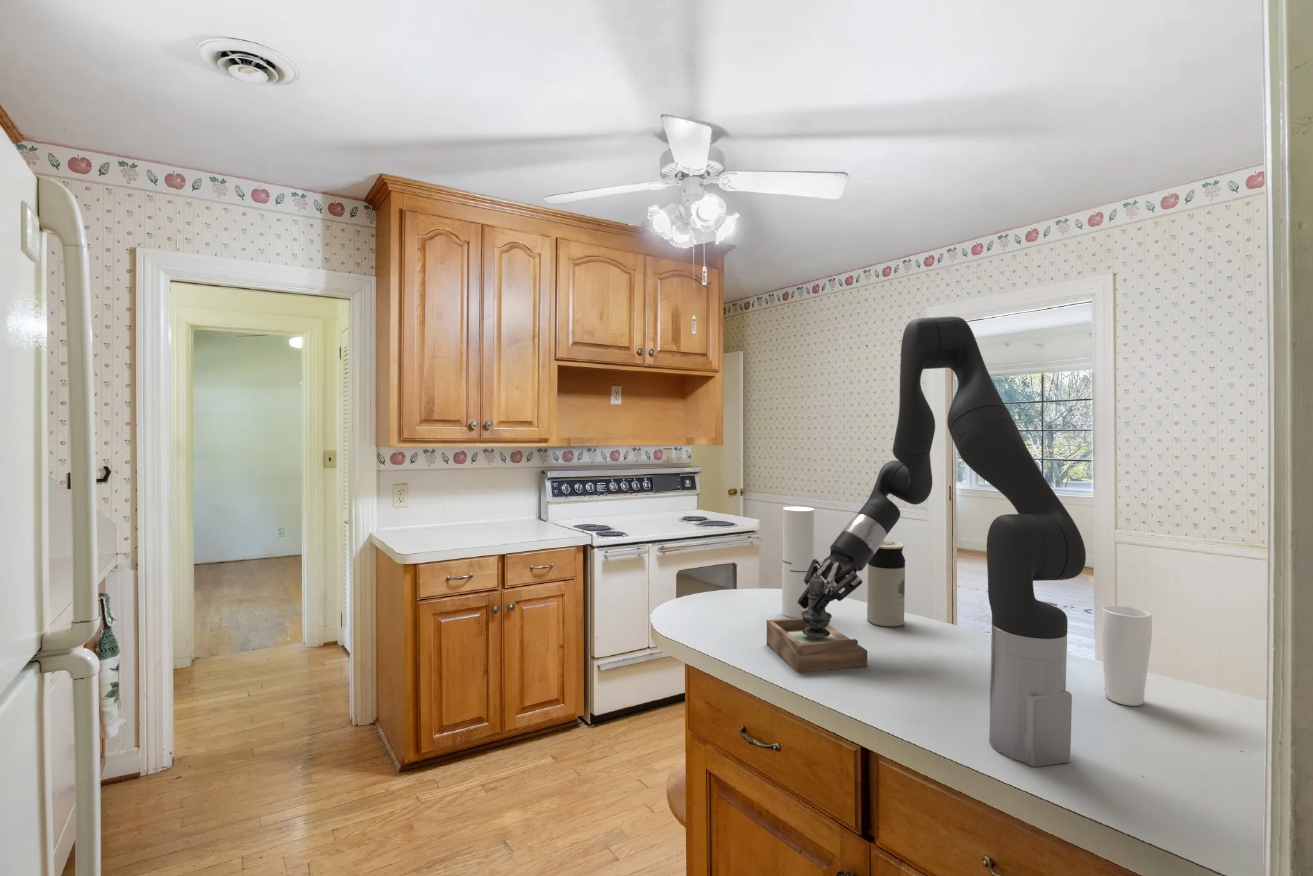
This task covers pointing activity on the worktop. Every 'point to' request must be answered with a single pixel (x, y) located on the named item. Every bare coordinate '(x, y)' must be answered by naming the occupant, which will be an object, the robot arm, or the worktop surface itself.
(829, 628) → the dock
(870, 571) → the travel mug
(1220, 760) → the worktop surface
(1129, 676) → the drinking glass
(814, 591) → the salt shaker
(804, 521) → the cylindrical container
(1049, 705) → the robot arm
